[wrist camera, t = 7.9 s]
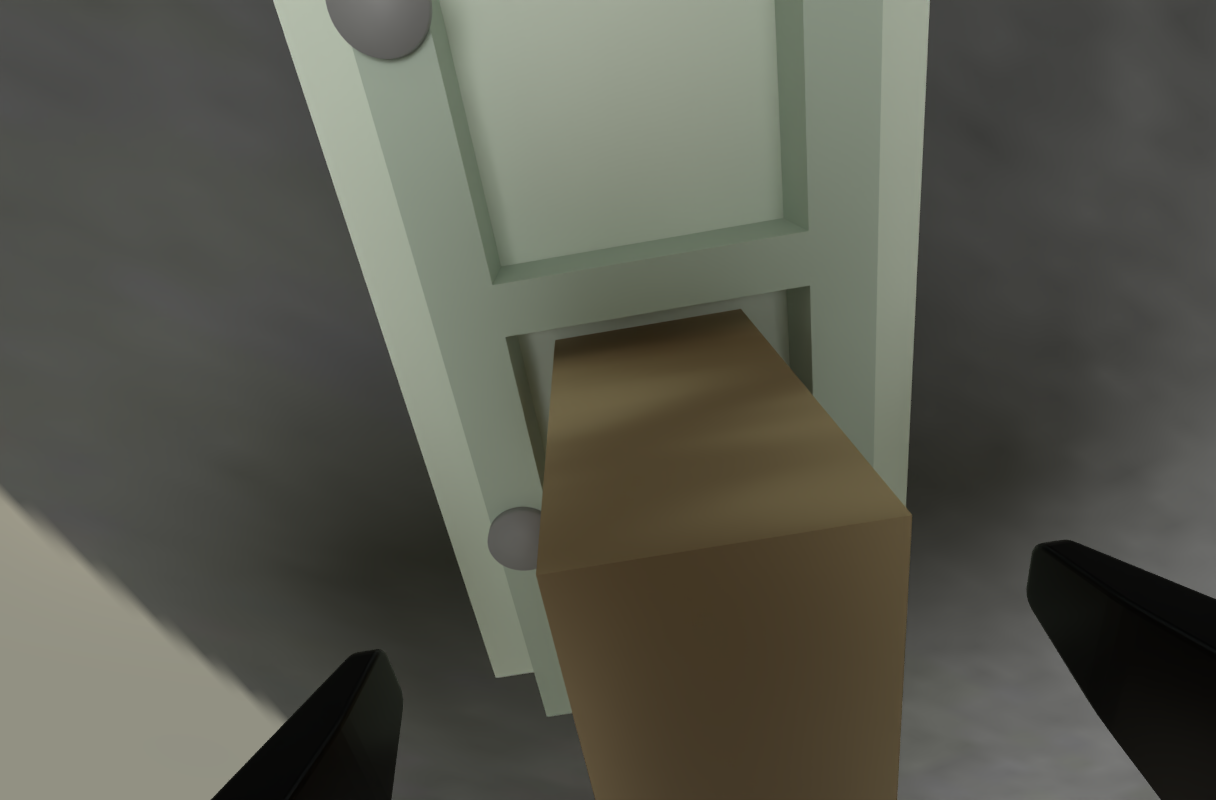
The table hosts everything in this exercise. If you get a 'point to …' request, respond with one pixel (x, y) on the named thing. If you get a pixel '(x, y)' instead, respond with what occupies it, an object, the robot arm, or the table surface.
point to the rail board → (615, 220)
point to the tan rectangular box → (719, 572)
